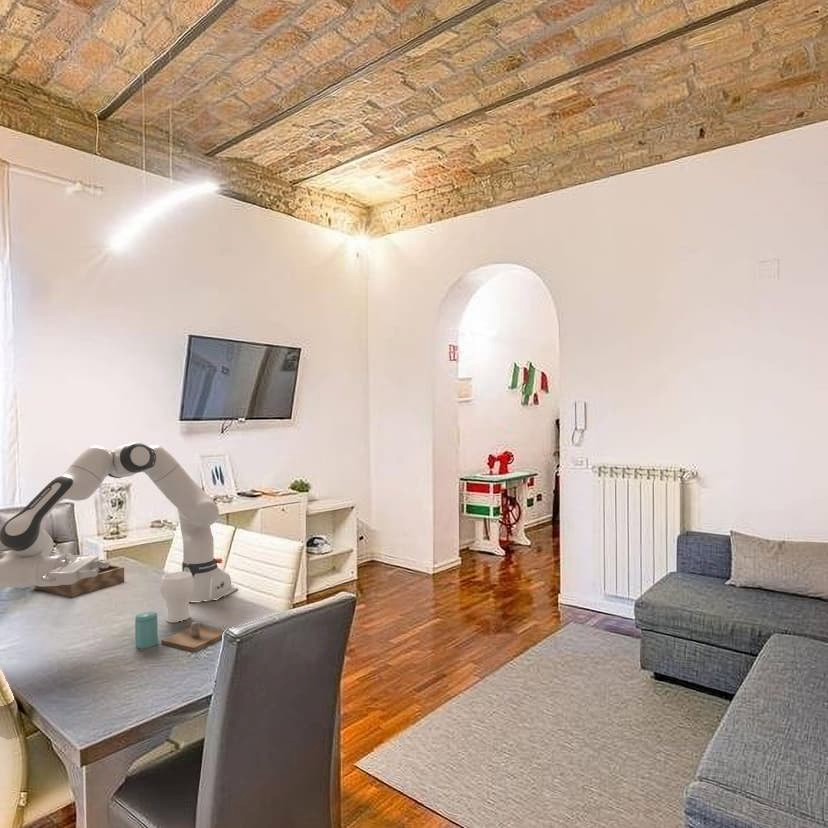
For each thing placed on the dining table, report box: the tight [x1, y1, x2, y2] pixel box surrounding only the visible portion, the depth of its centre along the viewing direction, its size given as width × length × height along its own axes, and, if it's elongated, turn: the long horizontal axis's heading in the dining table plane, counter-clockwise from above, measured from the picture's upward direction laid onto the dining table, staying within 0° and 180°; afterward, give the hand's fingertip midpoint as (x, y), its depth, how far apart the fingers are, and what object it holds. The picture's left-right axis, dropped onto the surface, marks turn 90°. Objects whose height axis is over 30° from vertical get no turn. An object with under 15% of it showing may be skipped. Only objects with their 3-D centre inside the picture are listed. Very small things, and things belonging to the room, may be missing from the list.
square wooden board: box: [160, 621, 225, 653], centre depth 185 cm, size 14×14×5 cm
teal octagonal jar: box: [134, 611, 159, 649], centre depth 182 cm, size 6×6×9 cm
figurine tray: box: [33, 564, 125, 598], centre depth 245 cm, size 22×25×6 cm
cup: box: [160, 571, 194, 623], centre depth 204 cm, size 11×11×15 cm
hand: (103, 568), depth 180 cm, fingers open, 8 cm apart
